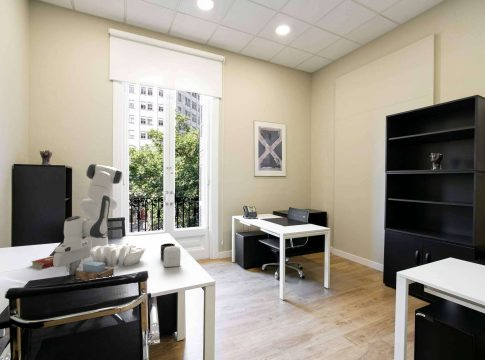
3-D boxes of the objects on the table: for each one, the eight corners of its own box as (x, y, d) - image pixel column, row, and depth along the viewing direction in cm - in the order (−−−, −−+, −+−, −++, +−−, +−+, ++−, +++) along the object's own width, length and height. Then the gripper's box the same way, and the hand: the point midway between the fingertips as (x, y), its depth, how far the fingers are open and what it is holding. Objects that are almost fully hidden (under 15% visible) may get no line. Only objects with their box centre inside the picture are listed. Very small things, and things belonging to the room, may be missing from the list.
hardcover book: (78, 260, 166) (78, 254, 166) (41, 271, 147) (41, 263, 147) (67, 257, 172) (67, 251, 172) (31, 267, 153) (31, 260, 153)
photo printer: (180, 264, 160) (180, 245, 160) (180, 266, 156) (180, 246, 156) (163, 265, 158) (163, 245, 158) (163, 267, 154) (163, 247, 153)
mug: (172, 261, 165) (172, 247, 165) (157, 259, 169) (157, 246, 169) (180, 257, 174) (180, 244, 174) (166, 255, 178) (166, 242, 178)
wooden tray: (113, 276, 140) (113, 268, 140) (99, 282, 131) (99, 274, 131) (90, 272, 144) (90, 265, 144) (75, 279, 135) (75, 270, 135)
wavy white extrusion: (81, 266, 155) (82, 249, 155) (97, 257, 172) (97, 242, 172) (137, 267, 154) (137, 250, 154) (148, 258, 171) (148, 243, 171)
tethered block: (104, 276, 139) (104, 263, 139) (97, 279, 134) (97, 266, 134) (74, 271, 145) (74, 259, 145) (66, 275, 140) (66, 261, 140)
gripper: (85, 240, 153) (85, 262, 153) (51, 249, 133) (51, 275, 133) (93, 241, 151) (93, 264, 151) (60, 250, 131) (59, 276, 131)
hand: (73, 269), depth 142 cm, fingers closed on tethered block, 4 cm apart
